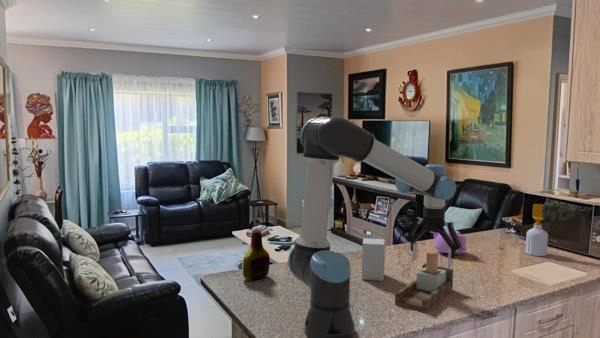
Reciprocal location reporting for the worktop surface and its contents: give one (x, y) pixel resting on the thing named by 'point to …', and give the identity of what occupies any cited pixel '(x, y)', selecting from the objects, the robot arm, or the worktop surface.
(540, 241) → the soap bottle
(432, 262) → the dowel
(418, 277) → the socket block
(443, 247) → the teapot
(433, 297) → the brown long open box
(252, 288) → the worktop surface
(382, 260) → the supplement box
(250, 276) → the bottle
